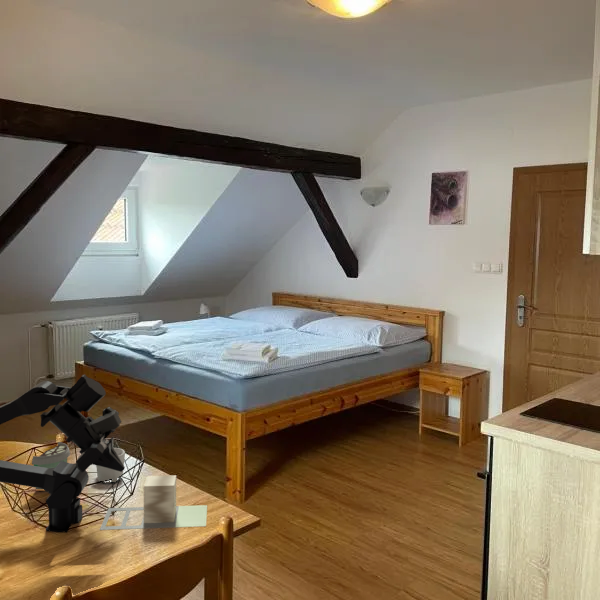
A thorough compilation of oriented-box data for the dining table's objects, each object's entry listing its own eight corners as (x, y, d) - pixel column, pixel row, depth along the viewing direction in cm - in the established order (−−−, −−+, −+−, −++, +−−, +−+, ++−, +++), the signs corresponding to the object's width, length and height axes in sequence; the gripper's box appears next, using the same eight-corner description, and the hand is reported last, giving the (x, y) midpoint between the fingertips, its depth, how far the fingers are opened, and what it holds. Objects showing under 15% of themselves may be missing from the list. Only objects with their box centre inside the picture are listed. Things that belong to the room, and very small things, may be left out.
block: (143, 523, 142) (143, 486, 141) (146, 511, 148) (146, 476, 147) (174, 522, 143) (174, 485, 142) (176, 510, 149) (176, 475, 148)
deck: (99, 536, 139) (99, 529, 139) (108, 514, 150) (108, 508, 150) (205, 532, 142) (206, 526, 142) (207, 510, 153) (207, 505, 153)
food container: (53, 496, 159) (52, 459, 158) (32, 493, 160) (31, 456, 159) (79, 477, 171) (79, 443, 170) (59, 475, 172) (59, 441, 171)
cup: (86, 476, 172) (85, 448, 171) (112, 469, 178) (112, 442, 177) (103, 488, 164) (102, 460, 163) (130, 481, 170) (130, 453, 169)
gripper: (90, 412, 132) (142, 460, 134) (106, 390, 150) (152, 433, 153) (53, 448, 132) (106, 495, 134) (74, 421, 150) (120, 464, 153)
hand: (123, 469), depth 143 cm, fingers closed
